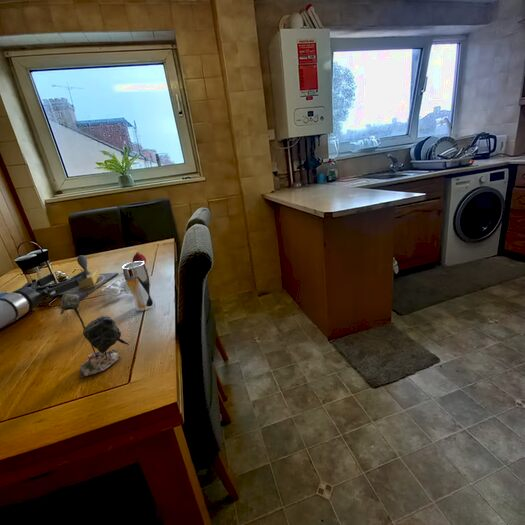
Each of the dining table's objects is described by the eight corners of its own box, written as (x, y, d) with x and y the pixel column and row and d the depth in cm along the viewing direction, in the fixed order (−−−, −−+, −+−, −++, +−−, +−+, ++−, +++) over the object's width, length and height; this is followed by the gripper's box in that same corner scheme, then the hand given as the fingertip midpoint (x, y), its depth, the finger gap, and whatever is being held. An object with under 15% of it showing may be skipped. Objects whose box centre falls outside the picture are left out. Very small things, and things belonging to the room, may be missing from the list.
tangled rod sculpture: (119, 282, 120) (115, 273, 118) (152, 274, 120) (149, 266, 119) (98, 302, 101) (93, 292, 100) (137, 293, 102) (133, 283, 100)
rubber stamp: (85, 279, 121) (76, 253, 117) (100, 276, 123) (91, 251, 118) (79, 288, 112) (68, 260, 108) (94, 285, 114) (85, 257, 109)
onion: (142, 270, 127) (137, 254, 124) (132, 270, 129) (127, 254, 126) (150, 265, 132) (146, 249, 129) (141, 265, 134) (136, 249, 131)
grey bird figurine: (131, 363, 65) (105, 287, 58) (76, 382, 61) (41, 302, 54) (131, 345, 72) (108, 275, 65) (82, 360, 68) (52, 287, 62)
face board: (42, 297, 110) (41, 295, 110) (78, 276, 129) (78, 274, 128) (88, 294, 108) (87, 292, 107) (118, 274, 126) (117, 272, 126)
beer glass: (131, 307, 93) (118, 266, 87) (151, 299, 97) (139, 259, 92) (139, 314, 88) (125, 270, 83) (160, 305, 92) (148, 263, 87)
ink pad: (61, 303, 103) (60, 299, 102) (71, 296, 107) (70, 293, 107) (78, 302, 102) (77, 298, 101) (87, 295, 107) (86, 292, 106)
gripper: (-10, 314, 90) (44, 286, 110) (59, 311, 87) (101, 282, 107) (-21, 294, 88) (36, 268, 107) (50, 289, 85) (95, 264, 104)
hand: (69, 275), depth 107 cm, fingers open, 13 cm apart
